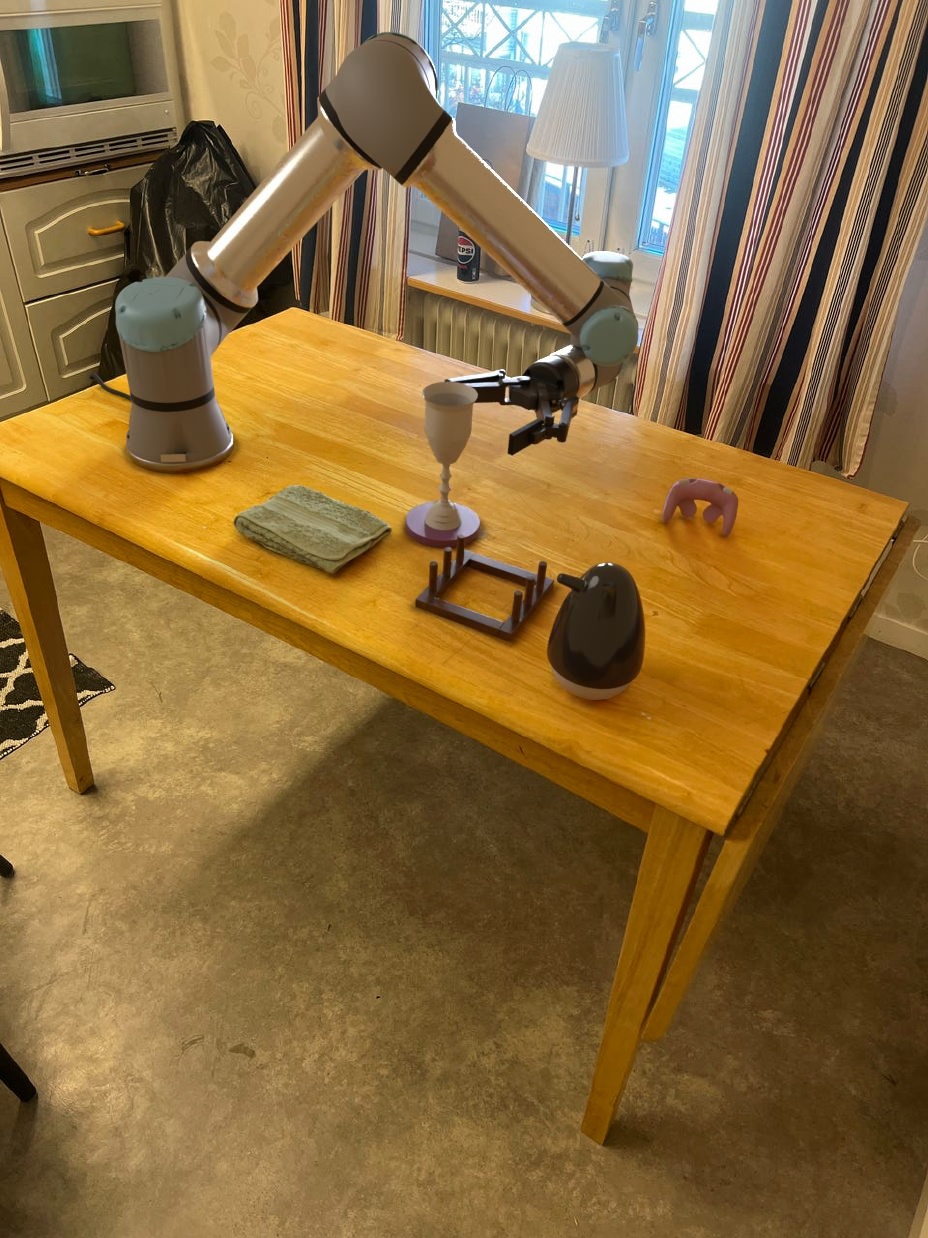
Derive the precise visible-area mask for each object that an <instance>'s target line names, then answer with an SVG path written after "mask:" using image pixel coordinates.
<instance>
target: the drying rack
mask: <svg viewBox="0 0 928 1238" xmlns="http://www.w3.org/2000/svg"><path fill="white" fill-rule="evenodd" d="M465 547H466V545H465V535H464V534H459V535H458V536H457V547H456V550H455V551H456V552H455V558H454V559H453V560H452V557H453V548H450V547H446V548H443V555H442V556H443V557H442V572H441V573H440V574H439V573H438V572H439V563H438V561H436V560H431V561H430V562H429V566H428V567H429V568H428V572H429V573H428V586H427V587H426V588H425V589H424V590H423V591H422V592H421V593H420V594H419V595H418V596H417V597H416V598H415V603H414V606H415V608H417V609H420V610H423V611H424V612H428V613H430V614H433V615H436V616H439V617H442V618H444V619H447V620H449V621H451V622H452V621H453V622H455V623H458V624H461V625H463V626H466V627H468V628H470V629H471V628H472V629H474V630H476V631H479V632H482V633H484V634H487V635H490V636H492V637H495V638H498V639H501V640H504V641H506V642H509V643H511V642H512V641H513V639H514V638H515V637H516V636H517V635H518V633H519V632H520V631H521V629H522V628H523V627H524V625H525V624H526V623H527V622H528V621H529V619H530V618H531V617H532V615H533V614H534V612H535V611H536V610H537V609H538V608H539V607H540V605H541V604H542V603H543V601H544V600H545V598H546V597H547V596H548V595H549V593H550V592H551V591H552V590H553V588H554V585H555V579H553V578H550V577H547V576H546V575H547V568H548V563H547V561H545V560H540V561H539V562H538V567H537V573H536V572H532V571H529V570H526V569H523V568H520V567H518V566H515V565H511V564H509V563H506V562H503V561H500V560H497V559H495V558H491V557H488V556H484V555H483V554H480V553H476V552H473V551H471V550H467V549H465ZM469 567H470V568H472V569H475V570H478V571H481V572H484V573H487V574H489V575H493V576H495V577H498V578H501V579H505V580H507V581H509V582H513V583H516V584H519V585H522V586H524V587H525V588H524V592H523V591H522V590H518V589H517V590H515V591H514V592H513V599H512V609H511V614H510V616H509V617H508V618H507V620H506V621H502V620H499V619H496V618H493V617H490V616H488V615H485V614H482V613H479V612H476V611H475V610H472V609H468V608H466V607H463V606H460V605H457V604H455V603H452V602H448V600H444V599H441V597H442V596H443V595H444V594H445V592H446V591H448V590H449V588H450V587H451V586H452V585H453V584H454V583H455V582H456V581H457V580H458V579H459V578H460V577H461V576H462V575H463V574H464V573H465V572H466V571H467V570H468V568H469Z"/></svg>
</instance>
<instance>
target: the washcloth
mask: <svg viewBox="0 0 928 1238" xmlns="http://www.w3.org/2000/svg"><path fill="white" fill-rule="evenodd" d="M232 523H233V527H234V528H235V530H236V531H237V533H238V534H239V535H241V536H243V537H245V538H247V539H249V540H253V541H255V542H256V543H258V544H259V545H262V546H263V547H264V548H265V549H266V550H270V551H272V552H274V553H277V554H279V555H282V556H285V557H287V558H290V559H292V560H295V561H297V562H299V563H302V564H305V565H308V566H310V567H313V568H316V569H320V570H322V572H326V573H327V574H331V575H335V574H336V572H337V571H339V570H340V569H342V567H344V566H346V565H347V564H348V563H349V562H350V561H352V560H353V559H355V558H357V557H358V556H362V555H363V553H365V552H367V551H368V550H370V549H371V548H372V547H374V546H375V545H376V544H377V543H378V542H380V541H381V540H382V539H384V538H385V537H386V536H389V535H390V534H391V533H392V527H391V526H390V525H389V524H388V522H387V521H386V520H385V521H384V520H383V519H381V518H379V517H378V516H377V515H375V514H374V513H372V512H371V511H369V510H366V509H362V508H360V507H357V506H353V505H351V504H349V503H347V502H343V501H342V500H338V499H335V498H332V497H331V496H329V495H326V494H325V493H323V492H322V491H318V490H316V489H312V488H309V487H307V486H305V485H301V484H300V485H298V484H291V485H289V486H287V487H285V488H283V489H282V490H280V491H279V492H277V493H275V494H274V495H272V496H270V497H269V498H268V500H267V501H265V502H263V503H260V504H255V505H253V506H251V507H249V508H247V509H246V510H242V511H241V512H239V513H237V515H236V516H235V517H234V518H233V522H232Z"/></svg>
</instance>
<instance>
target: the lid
mask: <svg viewBox="0 0 928 1238" xmlns="http://www.w3.org/2000/svg"><path fill="white" fill-rule="evenodd" d="M436 501H437V500H436ZM436 501H428V502H427V501H426V502H423V503H420V504H418V505H416V506H414V507H412V508H410V510H409V511H408V512H407V514H406V516H405V531H406V533H407V535H408V536H409V537H410V538H411V539H412V540H414V541H415V542H417V543H419V544H421V545H424V546H427V547H431V548H436V549H444V548H446V547H450V548H451V549H455V548H457V536H458V535H459V534H464V535H465V546H466V545H467V544H470V543H472V542H474V541H475V539H477V537H478V536H479V533H480V528H481V521H480V517H479V515H478V514H477V513H476V512H475V511H474V510H473V509H471V508H469V507H468V506H466V505H463V504H460V503H457V502H453V503H454V504H455V505H456V506H457V508H458V511H459V513H460V517H461V519H462V523H461V525H460V526H459V527H457V528H455V529H452V530H438V529H434V528H432V527H430V526H428V525H427V524H426V522H425V517H426V515H427V514H428V511H429V510H430V507H431V505H432V504H433V503H434V502H436Z"/></svg>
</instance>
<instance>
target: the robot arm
mask: <svg viewBox="0 0 928 1238" xmlns="http://www.w3.org/2000/svg"><path fill="white" fill-rule="evenodd" d="M438 97H439V79H438V75H437V70H436V67H435V65H434V62H433V61H432V58H431V56H430V55H429V53H428V51H426V49H425V48H424V47H423V46H422V45H421V44H420V43H419V42H417V41H416V40H415V39H413V38H412V37H410V36H408V35H406V34H403V33H401V32H397V31H382V32H379V33H376V34H374V35H371V36H370V37H368V38H367V39H366V40H365V41H364V42H363V43H362V44H360V45H359V46H357V47H355V48H354V49H352V50H351V51H350V52H349V54H347V55H346V56H345V58H344V59H343V61H342V63H341V64H340V66H339V68H338V70H337V73H336V75H335V76H334V77H333V78H332V80H330V82H329V83H328V84H327V86H326V87H325V88H324V89H323V90H322V91H321V92H320V94H319V95H318V97H317V98H316V99H317V117H316V118H315V120H314V121H313V122H312V123H311V124H310V125H309V126H308V127H307V129H306V130H305V132H303V133H302V135H301V136H300V137H299V138H298V139H297V140H296V142H294V144H293V146H292V147H290V149H289V150H288V151H287V152H286V153H285V154H284V155H283V157H282V158H281V159H280V160H279V161H278V163H277V164H275V166H274V167H273V169H272V170H271V171H270V172H269V173H268V174H267V175H266V176H265V178H264V179H263V180H262V181H261V182H260V183H259V185H257V187H256V188H255V190H253V192H252V193H251V194H250V195H249V197H248V198H247V199H246V200H245V201H244V202H243V203H242V205H241V206H240V207H239V208H238V209H237V210H236V212H235V213H234V214H233V215H232V216H231V218H230V219H229V220H228V221H227V222H226V224H224V225H223V227H222V228H221V229H220V230H219V232H217V234H216V235H215V236H214V237H213V238H212V239H211V241H206V240H205V241H204V240H199V241H196V242H194V243H193V244H192V245H191V246H190V248H189V249H188V250H187V251H186V252H185V253H184V255H183V256H181V258H180V259H179V260H178V261H177V263H176V264H175V265H174V266H173V267H172V268H171V269H170V271H169V272H168V273H167V274H166V275H165V276H154V277H149V278H148V277H147V278H144V279H142V281H135V282H132V283H130V284H129V285H127V286H126V287H124V288H123V289H122V290H121V291H120V292H119V294H118V295H117V297H116V299H115V307H114V309H115V326H116V330H117V334H118V339H119V342H120V343H119V344H120V348H121V354H122V358H123V363H124V369H125V374H126V379H127V386H128V390H129V393H126V392H123V391H121V390H117V389H114V388H112V387H110V386H108V385H107V384H105V382H104V381H103V380H102V379H101V377H100V376H99V375H98V374H97V373H95V372H92V373H90V375H89V380H95V382H96V383H97V384H98V385H99V386H100V385H101V386H100V387H101V388H102V389H103V390H104V391H106V392H107V393H110V394H112V395H115V396H118V397H121V398H123V399H126V400H127V401H129V402H130V403H131V406H130V413H129V420H128V430H127V432H126V436H125V447H126V451H127V457H128V458H129V459H130V461H131V462H132V463H134V465H136V466H139V467H141V468H143V469H145V470H149V471H154V472H159V473H170V474H171V473H175V474H176V473H188V472H196V471H200V470H204V469H207V468H210V467H213V466H216V465H218V464H220V463H221V462H223V461H225V460H226V459H228V457H230V455H231V454H232V452H233V450H234V447H235V445H234V436H233V433H232V429H231V427H230V425H229V424H228V423H227V420H226V418H225V415H224V413H223V411H222V409H221V406H220V404H219V402H218V400H217V397H216V392H215V382H214V374H213V365H212V356H213V355H214V353H215V352H216V351H217V350H218V348H219V347H220V345H222V343H223V341H224V340H225V339H226V338H227V337H228V335H229V334H230V333H231V332H232V331H233V330H234V329H235V328H236V327H237V325H238V324H239V323H240V322H241V321H242V320H243V319H244V318H245V317H246V316H247V315H248V314H249V312H250V311H251V310H252V309H253V308H254V307H255V306H256V304H258V302H259V294H258V287H259V286H260V284H261V283H262V282H263V281H264V280H265V279H266V278H267V277H268V276H269V275H270V274H271V272H273V270H274V269H275V268H276V267H277V266H278V265H279V264H280V263H281V262H282V261H283V260H284V259H285V257H286V256H287V255H288V254H289V253H290V252H291V251H292V250H293V249H294V248H295V246H296V245H298V243H299V242H300V241H301V240H302V239H303V238H304V236H305V235H307V233H308V232H309V231H310V230H311V229H312V228H313V227H314V226H315V225H316V224H317V223H318V222H319V220H320V219H321V218H322V217H323V216H324V215H325V214H326V213H327V212H328V211H329V210H330V209H331V208H332V206H334V204H335V203H337V201H338V200H339V199H340V198H341V197H342V195H344V193H345V192H346V191H347V190H348V189H349V188H350V187H351V186H352V184H354V183H355V181H356V180H357V179H358V178H359V177H360V176H361V175H362V174H363V173H364V172H365V171H368V170H370V171H381V170H384V171H385V172H386V173H387V174H388V175H389V176H391V177H392V178H393V179H394V180H395V181H396V182H397V183H398V184H399V185H400V186H402V187H403V188H417V189H418V190H419V191H420V192H421V193H422V194H423V195H424V196H425V197H426V198H427V199H428V200H429V201H431V203H433V204H434V205H435V207H437V208H438V209H439V210H440V211H441V212H442V213H443V214H444V215H445V216H446V217H447V218H448V219H449V220H450V221H451V222H452V223H454V224H455V225H456V226H457V227H458V228H459V229H460V230H461V231H462V232H463V233H464V234H465V235H467V236H468V237H469V239H471V240H472V241H473V242H474V243H475V244H476V245H477V246H478V247H479V248H480V249H481V250H483V252H484V253H486V254H487V255H488V256H489V257H490V258H491V259H492V260H493V261H495V262H496V264H497V265H498V266H500V268H502V269H503V270H504V271H505V272H506V273H507V274H508V275H509V276H510V277H511V278H512V279H514V280H515V282H516V283H518V284H519V285H520V286H521V287H522V288H523V289H524V290H525V291H526V292H527V293H528V294H529V295H531V296H532V297H533V298H534V299H535V300H536V302H538V303H539V304H540V305H541V306H542V307H543V308H544V309H545V310H546V311H548V313H550V314H551V315H552V316H553V318H555V319H556V320H557V321H558V322H559V323H560V324H561V325H563V327H564V328H565V329H566V330H567V331H568V332H569V333H570V339H569V345H567V346H566V347H564V348H562V349H559V350H557V351H556V352H553V353H551V354H548V355H547V356H546V357H544V358H543V357H542V358H541V359H539V360H537V361H535V362H533V363H532V364H530V365H529V366H527V368H526V369H525V371H524V372H523V374H522V375H521V376H515V377H512V378H510V377H508V376H506V372H507V371H506V370H505V369H497V370H495V371H491V372H486V373H479V374H478V373H477V374H471V375H464V376H457V377H449V378H445V379H444V381H443V382H457V383H462V384H466V385H468V386H470V387H472V388H473V389H475V390H476V392H477V393H478V396H477V399H476V401H475V402H474V404H487V403H489V404H492V403H498V404H499V405H500V406H516V407H520V408H522V409H525V410H527V411H533V412H534V414H535V415H536V418H535V419H534V420H532V421H530V422H529V423H526V424H525V425H523V426H521V427H520V428H518V429H516V430H514V431H512V432H510V433H509V435H508V444H507V455H510V456H514V455H515V454H518V453H519V452H521V451H523V450H525V449H526V448H528V447H530V446H531V445H538V444H540V443H542V442H543V441H546V440H552V439H553V438H555V439H556V441H557V442H559V443H562V444H563V443H566V442H567V438H568V434H569V430H570V425H571V422H572V419H573V418H575V417H576V416H577V415H578V409H579V404H580V399H582V398H583V397H585V396H587V395H589V394H590V393H592V392H595V391H596V390H598V389H600V388H602V387H604V386H607V385H608V384H611V383H612V382H613V381H615V380H616V379H617V378H618V377H619V376H620V375H622V374H623V373H624V372H625V370H626V369H627V366H628V364H629V361H630V357H631V356H632V355H633V353H634V352H635V350H636V349H637V346H638V343H639V321H638V319H637V316H636V315H635V312H634V308H633V304H632V303H633V302H632V299H631V296H630V291H631V285H632V283H633V270H634V263H633V261H632V259H631V258H630V257H629V256H627V255H625V254H621V253H618V252H612V251H603V250H602V251H592V252H589V253H586V254H585V255H584V256H583V257H582V258H581V257H580V255H578V254H577V252H575V251H574V250H573V248H572V247H570V245H568V243H566V241H564V239H562V238H561V237H560V236H559V235H558V234H557V232H555V230H553V229H552V227H551V226H549V225H548V224H547V223H546V222H545V221H544V220H543V219H542V217H540V216H539V215H538V214H537V213H536V212H535V211H534V210H533V209H532V208H531V207H530V206H529V205H528V204H527V203H526V202H525V201H524V200H523V199H522V198H521V197H520V196H519V195H518V194H517V193H516V192H515V191H514V190H513V189H512V188H511V187H510V186H509V185H508V184H507V183H506V182H505V181H504V180H503V179H502V178H501V177H500V176H499V175H498V174H497V173H496V172H495V171H494V170H493V169H492V168H491V167H490V166H489V165H488V164H487V163H486V162H485V161H484V160H483V159H482V158H481V157H480V156H479V155H478V153H476V152H475V151H474V150H473V149H472V148H471V147H470V146H469V145H468V144H467V143H466V142H465V141H464V140H463V139H462V138H461V137H460V136H459V135H458V134H457V131H456V120H455V118H453V116H451V114H450V113H449V112H448V111H447V110H446V109H445V108H444V107H443V106H442V105H441V104H440V103H439V101H438V99H439V98H438ZM507 389H508V397H507V398H506V392H507ZM425 411H426V408H425ZM425 411H424V412H425ZM559 411H561V415H560V418H559V422H558V423H556V422H555V415H554V414H555V413H558V412H559Z"/></svg>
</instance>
